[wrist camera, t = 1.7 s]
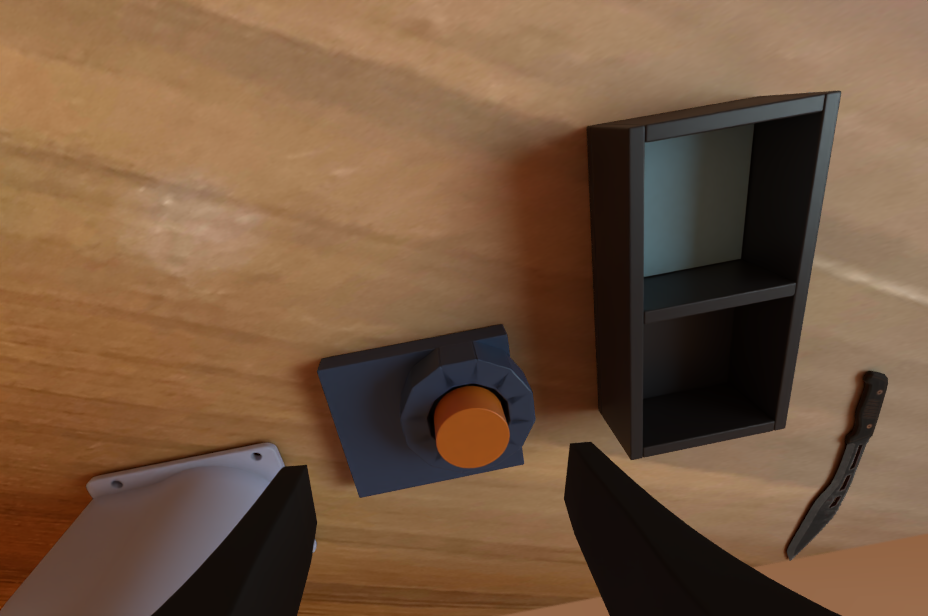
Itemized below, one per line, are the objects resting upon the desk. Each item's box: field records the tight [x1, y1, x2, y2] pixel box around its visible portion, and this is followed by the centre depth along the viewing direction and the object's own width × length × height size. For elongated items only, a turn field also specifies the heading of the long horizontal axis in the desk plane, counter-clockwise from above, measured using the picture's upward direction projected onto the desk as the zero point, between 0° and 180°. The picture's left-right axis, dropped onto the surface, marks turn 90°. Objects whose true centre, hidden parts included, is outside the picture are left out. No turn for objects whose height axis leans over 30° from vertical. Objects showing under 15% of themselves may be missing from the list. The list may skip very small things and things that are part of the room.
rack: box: [587, 91, 841, 460], centre depth 20 cm, size 8×15×4 cm, turn 9°
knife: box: [787, 371, 888, 561], centre depth 29 cm, size 16×1×3 cm
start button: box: [434, 386, 510, 468], centre depth 20 cm, size 3×3×2 cm
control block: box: [317, 324, 536, 498], centre depth 22 cm, size 10×8×3 cm
